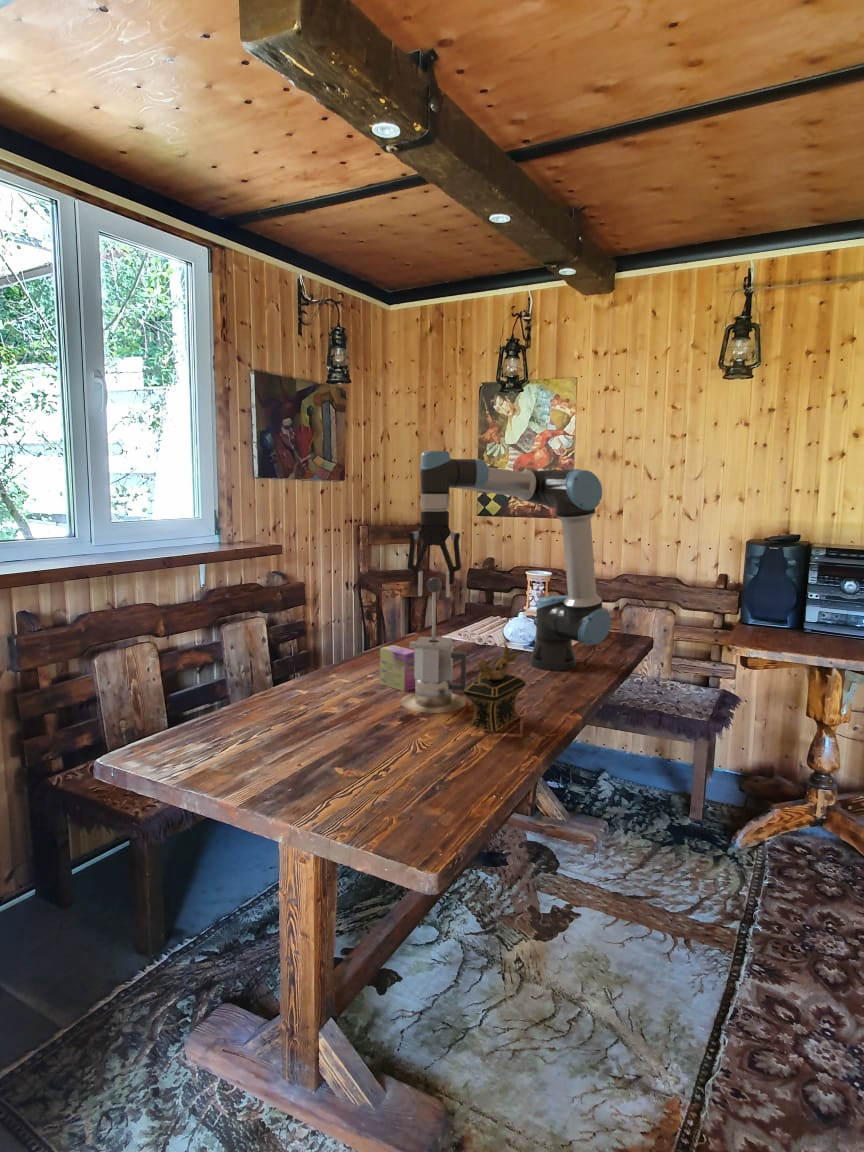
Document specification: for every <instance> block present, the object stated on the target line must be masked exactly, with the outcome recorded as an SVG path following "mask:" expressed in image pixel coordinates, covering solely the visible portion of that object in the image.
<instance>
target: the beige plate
mask: <svg viewBox="0 0 864 1152" xmlns="http://www.w3.org/2000/svg"><path fill="white" fill-rule="evenodd" d="M466 703H467V700H466V698H464V697H463V696H461V695H459V694H455V693H452V702H451V704H450V705H448V706H444V707H438V708H430V707H423V706H420V705H418V704H416V703H415V692H414V693H410V694H407V695H405V696H403V697H402V698H401V700H400V704H401V706H403V707H404V708H406V709H407V710H410V711H413V712H414V711H415V712H417V713H429V714H441V713H451V712H454V711H458V710H459V709H462V708H463V707H465V706H466Z"/></svg>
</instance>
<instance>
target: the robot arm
mask: <svg viewBox="0 0 864 1152" xmlns="http://www.w3.org/2000/svg"><path fill="white" fill-rule="evenodd" d="M420 457H421V458H420V467H419V469H420V509H421V510H422V511H421V512H420V527H419V530H418V531H411V532H409V533H408V537H409V549H408V556H407V557H408V559H407V560H408V561H407V569H408V570H411V571H413V573H414V575H413V576H414V577H413V583H414V584H418V585H417V597H423V579H424V578H423V573H424V572H423V570H421V567H422V565H423V562H424V559H425V556H426V554H427V551H428V549H429V547H430V546H433V545H434V546H437V547H438V546H439V547H440V549H441V552H442V555H443V558H444V560H445V564H446V566H447V569H448V571H447V572H446V574H445V575H446V577H445V578H446V579H445V583H446V584H445V598H450V596H451V585H454V583H455V572H457V571H458V572H459V571H460V570H461V569H462V561H461V560H462V559H461V552H460V538H461V533H460V532H454V531H451V529H450V526H449V525H450V512H449V511H448V509H449V508H450V489H453V488H454V489H460V490H464V491H465V490H467V491H474V492H481V493H487V494H495V495H503V496H510V497H517V498H518V499H519V500H520V501H523V502H529V503H534V504H537V505H541V506H546V507H550V508H555V516H556V517H557V519H559V521H561V525H562V529H561V530H562V540H563V550H564V551H563V552H564V562H565V576H566V583H567V585H566V586H567V587H566V588H567V595H549V596H542V597H540V598H538V600H537V606H536V609H535V611H536V622H535V623H536V624H535V625H536V630H535V631H536V632H535V635H536V636H535V637H536V638H535V643H534V645H533V649H532V651H531V653H530V658H529V664H530V665H531V666H532V667H534V668H536V669H541V670H547V671H567V670H572V669H575V668H576V667H577V657H576V653H575V651H574V646H573V643H572V641H574V642H577V643H581V644H583V645H589V646H594V645H598V644H600V643H602V642H603V641H604V640H605V639H606V637H607V636H608V634H609V633H610V631H611V627H612V617H611V614H610V612H609V611H608V610H606V609H604V608H603V599H602V598H601V597H600V596H599V595H598V594H597V585H596V572H595V558H594V545H593V543H594V542H593V531H592V517H594V515H595V514H596V508H597V507H598V506H599V504H600V503H601V502H600V501H601V500H602V499H603V497H602V496H603V487H602V483H601V481H600V479H599V478H598V476H597V475H596V474H595V473H594V472H592V471H590V470H586V469H580V468H574V469H573V468H571V469H543V470H530V469H525V470H522V471H516V470H510V469H503V468H497V467H490V466H489V465H488V464H487V462H486V461H484V460H482V459H476V458H451V456H450V452H449V451H447V450H425V451H423V452H422V454H421V455H420ZM419 537H420V538H421V539H422V540H423V543H422V546H421V550H420V552H419V555H418V558H417V559H416V562H415V554H416V546H417V545H416V544H417V539H418V538H419ZM449 537H451V540H452V541H453V542H452V543H453V553H454V554H453V555H454V564H455V565H454V564H453V560H452V558H451V554H450V552H449V549H448V545H447V543H446V541H447V540H448V538H449ZM414 563H415V564H414Z"/></svg>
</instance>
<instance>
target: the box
mask: <svg viewBox="0 0 864 1152" xmlns="http://www.w3.org/2000/svg"><path fill="white" fill-rule="evenodd" d="M379 650H380V653H379V654H380V657H379V658H380V666H379V670H380V671H379V672H380V673H379V678H380V679H379V683H380V685H383V686H385V687H389V688H392V689H396V690H398V691H402V692H406V691H411V690H413V689H414V690H415V678H414V649H412V648H407V647H402V646H399V645H395V644H393V645H388V646H387V645H386V646H383V647H380V649H379Z"/></svg>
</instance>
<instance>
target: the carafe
mask: <svg viewBox="0 0 864 1152" xmlns="http://www.w3.org/2000/svg"><path fill="white" fill-rule="evenodd" d="M408 649H413V650H414V678H415V688H414V693H415V703H416V704H418V705H420V706H423V707H430V708H438V707H444V706H448V705H450V704H451V702H452V694H453V691H452V690H454V691H464V689H465V688H466V687H467V686H466V685H467V652H465V651H464V652H463V651H454V644H453V637H439V636H438V637H436V640H432V636H419V637H418V638H417V640H415V641H412V640H411V641H410V642H409V648H408ZM454 659H460V683H459V682H453V673H454V672H453V665H454V664H453V663H454V662H453V660H454Z"/></svg>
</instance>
